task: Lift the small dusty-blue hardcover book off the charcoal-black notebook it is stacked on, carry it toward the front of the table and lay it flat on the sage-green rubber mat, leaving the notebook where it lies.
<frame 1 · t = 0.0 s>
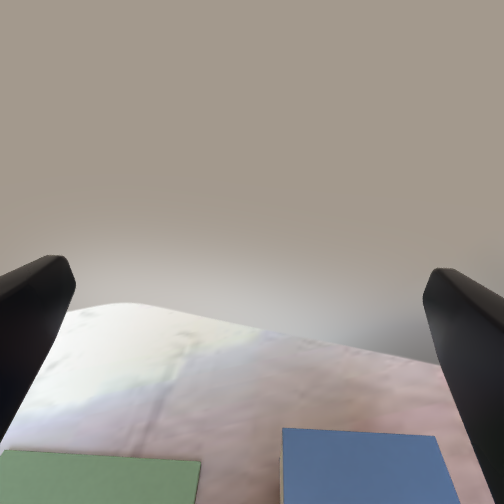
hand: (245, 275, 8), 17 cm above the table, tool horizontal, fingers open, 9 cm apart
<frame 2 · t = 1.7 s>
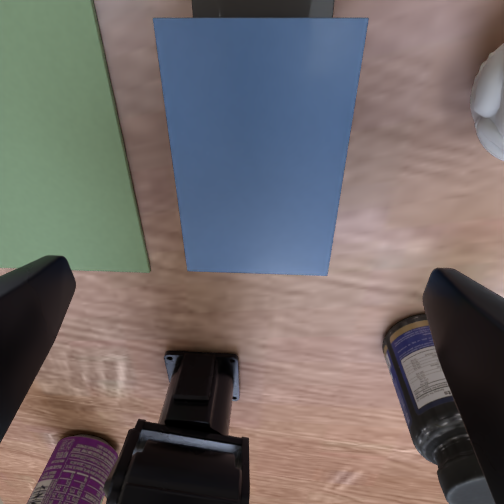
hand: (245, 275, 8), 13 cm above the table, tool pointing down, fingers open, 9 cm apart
black notebook: (262, 132, 19), on the table, touching blue book
blue book: (260, 148, 17), point 3 cm above the table, touching black notebook
pill bottle: (418, 336, 27), on the table
green mat: (31, 163, 21), on the table
beverage can: (91, 443, 41), on the table
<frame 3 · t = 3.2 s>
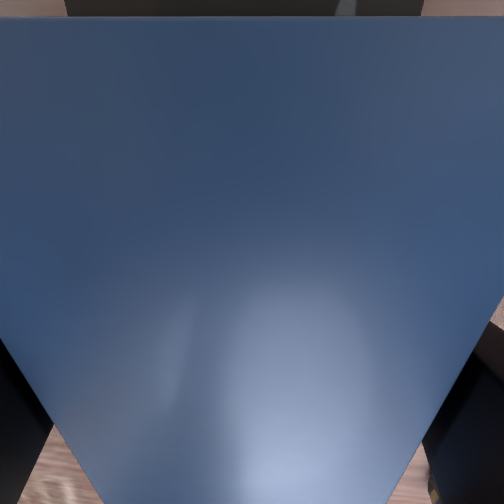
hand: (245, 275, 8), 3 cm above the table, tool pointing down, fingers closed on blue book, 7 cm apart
black notebook: (251, 220, 11), on the table, touching blue book
blue book: (243, 276, 8), point 3 cm above the table, touching black notebook, gripper
when the fingers open (1 cm above the table, at t = 16.7 s): blue book drops 1 cm, resting on green mat.
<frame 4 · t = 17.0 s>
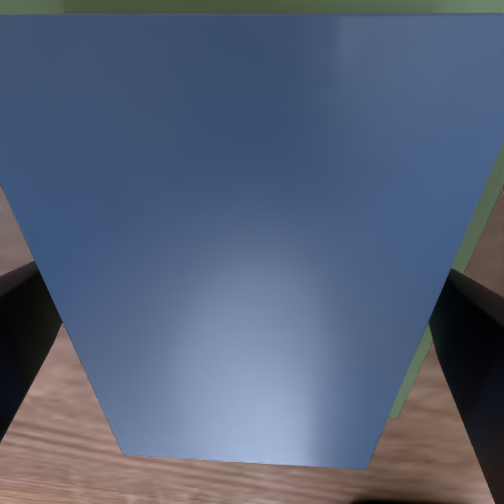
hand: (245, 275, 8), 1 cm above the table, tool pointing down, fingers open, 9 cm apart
blue book: (248, 248, 9), resting on green mat
green mat: (249, 243, 10), on the table
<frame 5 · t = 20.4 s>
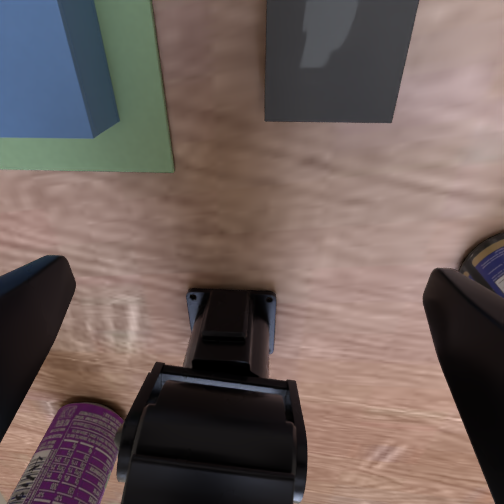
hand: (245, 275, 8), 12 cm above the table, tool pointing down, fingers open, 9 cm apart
pill bottle: (502, 263, 22), on the table
beverage can: (96, 413, 36), on the table
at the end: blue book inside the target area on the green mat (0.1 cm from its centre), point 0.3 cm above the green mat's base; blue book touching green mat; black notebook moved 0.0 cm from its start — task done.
